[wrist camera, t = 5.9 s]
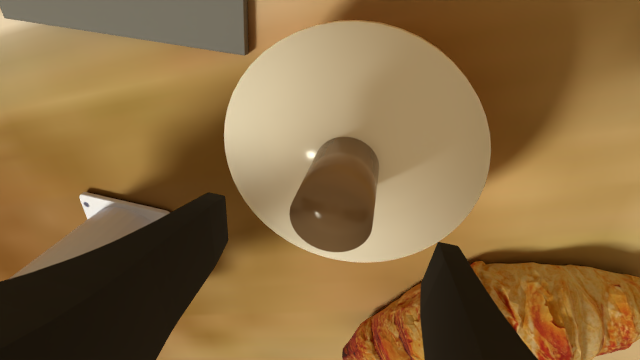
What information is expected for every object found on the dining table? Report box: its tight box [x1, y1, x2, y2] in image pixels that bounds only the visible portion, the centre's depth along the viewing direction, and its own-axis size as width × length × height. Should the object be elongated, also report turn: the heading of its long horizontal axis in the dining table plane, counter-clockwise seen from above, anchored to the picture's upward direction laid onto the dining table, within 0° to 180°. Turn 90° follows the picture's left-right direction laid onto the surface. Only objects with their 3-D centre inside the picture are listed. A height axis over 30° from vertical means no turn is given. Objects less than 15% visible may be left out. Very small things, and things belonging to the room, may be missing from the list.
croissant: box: [342, 261, 640, 360], centre depth 21 cm, size 21×10×8 cm, turn 124°
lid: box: [224, 20, 491, 262], centre depth 13 cm, size 12×12×5 cm
